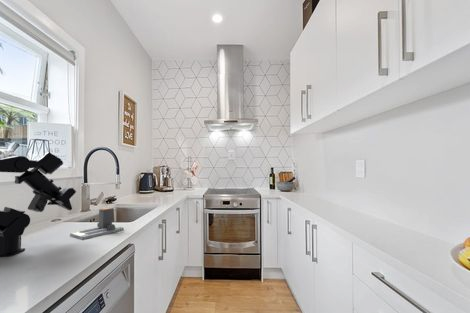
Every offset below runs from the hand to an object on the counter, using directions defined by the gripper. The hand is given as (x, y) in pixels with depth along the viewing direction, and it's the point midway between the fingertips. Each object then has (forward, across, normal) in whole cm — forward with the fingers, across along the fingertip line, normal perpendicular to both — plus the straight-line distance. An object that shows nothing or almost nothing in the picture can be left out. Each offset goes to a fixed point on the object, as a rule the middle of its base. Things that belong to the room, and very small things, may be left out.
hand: (70, 209), depth 101 cm
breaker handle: (+17, +1, +3) cm, 17 cm away
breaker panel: (+16, +1, 0) cm, 16 cm away
